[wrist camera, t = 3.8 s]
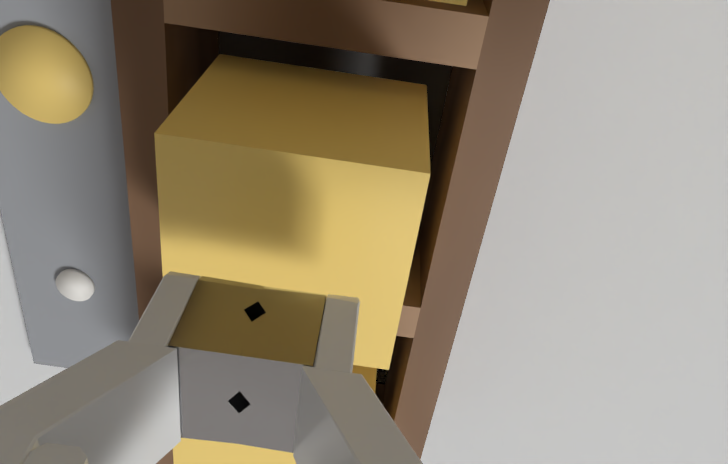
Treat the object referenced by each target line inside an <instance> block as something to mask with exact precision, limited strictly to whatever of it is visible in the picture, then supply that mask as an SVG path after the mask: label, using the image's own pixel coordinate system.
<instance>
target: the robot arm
mask: <svg viewBox="0 0 728 464" xmlns="http://www.w3.org/2000/svg"><path fill="white" fill-rule="evenodd" d="M326 297H327V299H326ZM359 305H360V301H359V298H356V297H348V296H339V295H331V294H328V295H324V294H317V293H310V292H302V291H295V290H288V289H280V288H273V287H266V286H261V285H255V284H249V283H243V282H237V281H230V280H224V279H218V278H212V277H206V276H202V277H201V276H198V275H191V274H185V273H179V272H172V271H170V272H169V273H167V274H166V275H165V276H163V278H162V280H161V282H160V284H159V286H158V287H157V289H156V291H155V293H154V295H153V296H152V298H151V300H150V302H149V304H148V306H147V307H146V309H145V311H144V313H143V315H142V317H141V318H140V320H139V322H138V324H137V326H136V327H135V329H134V331H133V333H132V335H131V337H130V338H129V340H128V341H121V340H117V341H116V342H114V343H112V344H110V345H108V346H107V347H105V348H103V349H101V350H99V351H98V352H96V353H94V354H92V355H90V356H89V357H87V358H85V359H83V360H81V361H80V362H78V363H76V364H74V365H73V366H71V367H69V368H67V369H65V370H64V371H62V372H60V373H58V374H56V375H55V376H53V377H51V378H49V379H47V380H46V381H44V382H42V383H40V384H38V385H37V386H35V387H33V388H31V389H29V390H28V391H26V392H24V393H22V394H20V395H19V396H17V397H15V398H13V399H12V400H10V401H8V402H6V403H4V404H3V405H1V406H0V464H156V463H157V462H158V461H159V460H161V459H162V458H163V457H164V456H165V455H166V454H167V453H168V452H169V451H170V450H172V449H173V448H174V447H175V446H176V445H177V444H178V443H179V442H180V441H181V438H189V439H198V440H207V441H216V442H225V443H235V444H242V445H248V446H254V447H260V448H266V449H272V450H278V451H284V452H290V453H293V457H294V459H295V461H296V464H423V463H422V462H421V460H420V459H419V457H418V456H417V455H416V453H415V452H414V450H413V449H412V447H411V446H410V444H409V443H408V441H407V440H406V438H405V437H404V435H403V434H402V433H401V431H400V430H399V428H398V427H397V425H396V424H395V422H394V421H393V419H392V418H391V416H390V415H389V413H388V412H387V411H386V409H385V408H384V406H383V405H382V403H381V402H380V400H379V399H378V397H377V396H376V394H375V393H374V391H373V390H372V389H371V387H370V386H369V384H368V383H367V381H366V380H365V378H364V377H363V375H362V374H357V373H352V370H353V361H354V352H355V343H356V333H357V324H358V315H359Z"/></svg>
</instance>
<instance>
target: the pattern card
mask: <svg viewBox="0 0 728 464" xmlns="http://www.w3.org/2000/svg"><path fill="white" fill-rule="evenodd" d="M0 212H1V216H2V221H3V225H4V230H5V234H6V239H7V243H8V248H9V252H10V257H11V261H12V266H13V270H14V275H15V279H16V284H17V289H18V293H19V298H20V302H21V307H22V311H23V316H24V320H25V325H26V329H27V334H28V338H29V343H30V347H31V352H32V356H33V361H34V363H36V364H43V365H50V366H57V367H64V368H69V367H71V366H73V365H74V364H76V363H78V362H80V361H81V360H83V359H85V358H87V357H89V356H90V355H92V354H94V353H96V352H98V351H99V350H101V349H103V348H105V347H107V346H108V345H110V344H112V343H114V342H116V341H117V340H121V341H128V340H129V338H130V337H131V335H132V333H133V331H134V329H135V327H136V326H137V324H138V322H139V315H138V303H137V292H136V281H135V270H134V258H133V247H132V236H131V225H130V213H129V202H128V191H127V180H126V169H125V157H124V146H123V135H122V124H121V112H120V101H119V90H118V79H117V67H116V56H115V45H114V34H113V22H112V11H111V0H0Z"/></svg>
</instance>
